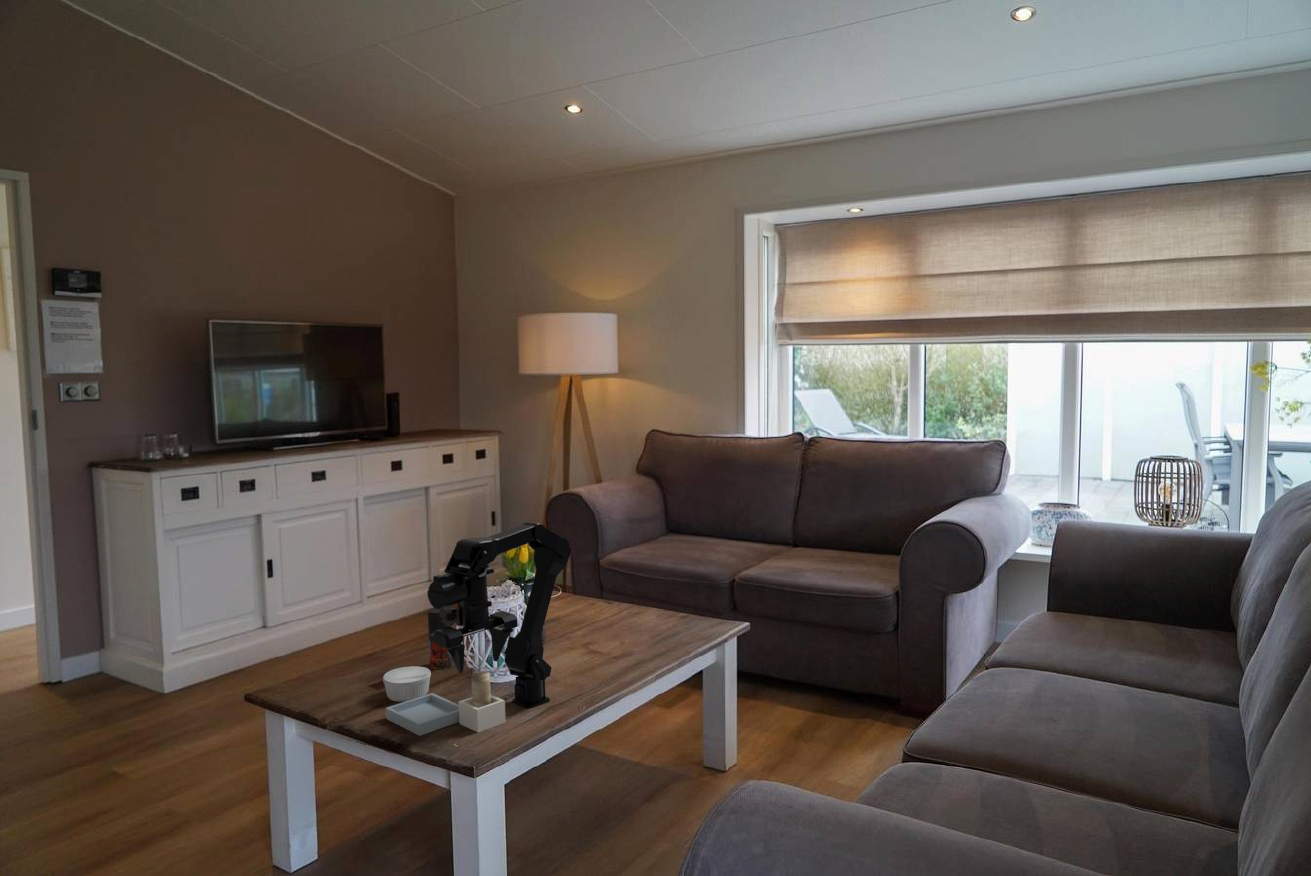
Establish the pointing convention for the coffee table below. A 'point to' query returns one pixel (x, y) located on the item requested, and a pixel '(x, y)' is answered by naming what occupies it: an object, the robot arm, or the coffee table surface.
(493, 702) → the white open box
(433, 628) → the deodorant
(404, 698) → the ramekin
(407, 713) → the slate tray
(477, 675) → the beech dowel
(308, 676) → the coffee table surface
